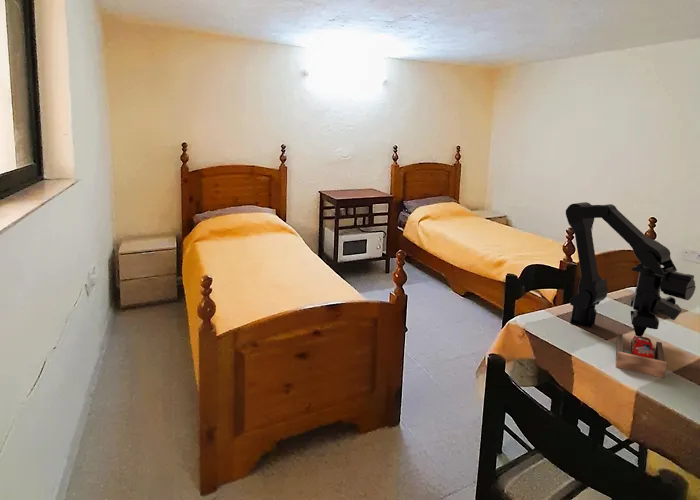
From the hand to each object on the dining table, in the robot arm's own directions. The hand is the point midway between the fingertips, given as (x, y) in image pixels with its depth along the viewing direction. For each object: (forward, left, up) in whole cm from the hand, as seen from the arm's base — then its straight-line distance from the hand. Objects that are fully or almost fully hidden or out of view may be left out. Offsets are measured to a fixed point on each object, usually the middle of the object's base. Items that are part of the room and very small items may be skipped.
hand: (638, 338), depth 137 cm
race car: (+1, -7, -2) cm, 7 cm away
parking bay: (0, -11, -2) cm, 11 cm away
